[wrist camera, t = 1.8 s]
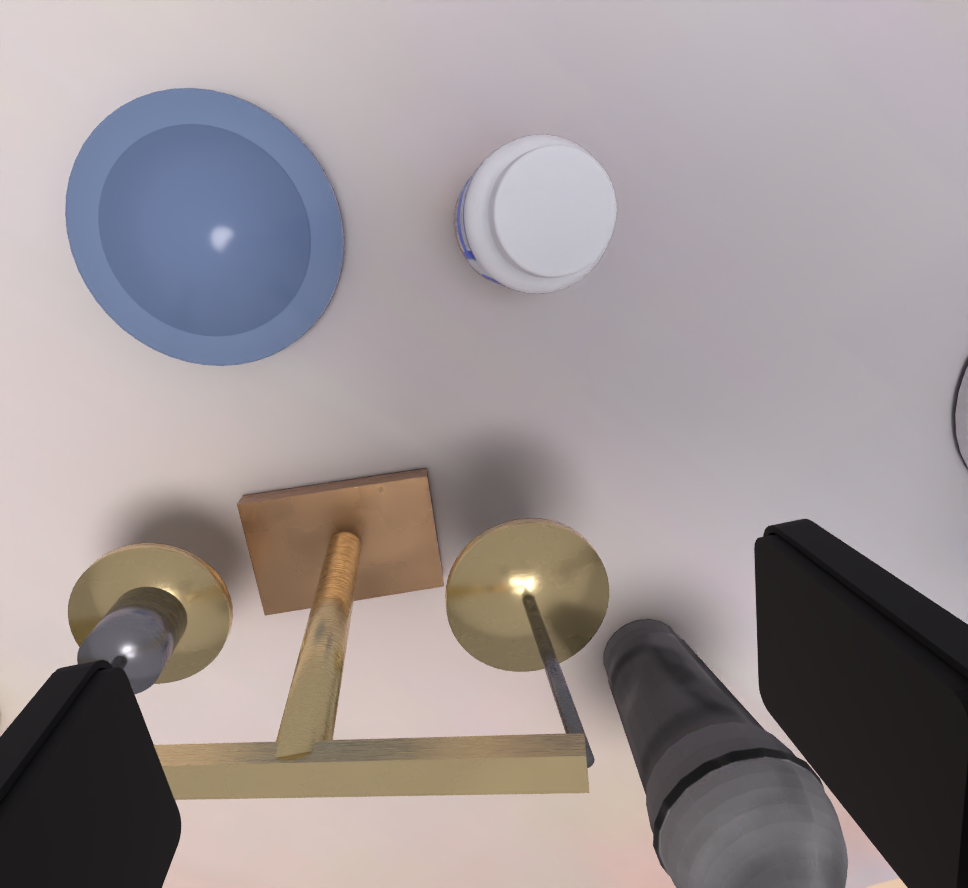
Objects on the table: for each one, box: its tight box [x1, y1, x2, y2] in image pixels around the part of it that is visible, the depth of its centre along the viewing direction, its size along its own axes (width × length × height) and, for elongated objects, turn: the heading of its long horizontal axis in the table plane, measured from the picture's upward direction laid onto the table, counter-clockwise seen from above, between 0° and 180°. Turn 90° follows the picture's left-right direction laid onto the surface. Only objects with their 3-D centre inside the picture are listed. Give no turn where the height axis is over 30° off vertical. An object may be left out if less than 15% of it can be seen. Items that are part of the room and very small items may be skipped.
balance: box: [68, 468, 609, 800], centre depth 25 cm, size 22×6×18 cm, turn 97°
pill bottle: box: [454, 134, 617, 294], centre depth 25 cm, size 5×5×10 cm
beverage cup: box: [604, 619, 848, 888], centre depth 28 cm, size 7×7×20 cm
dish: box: [65, 88, 344, 366], centre depth 28 cm, size 11×11×1 cm
